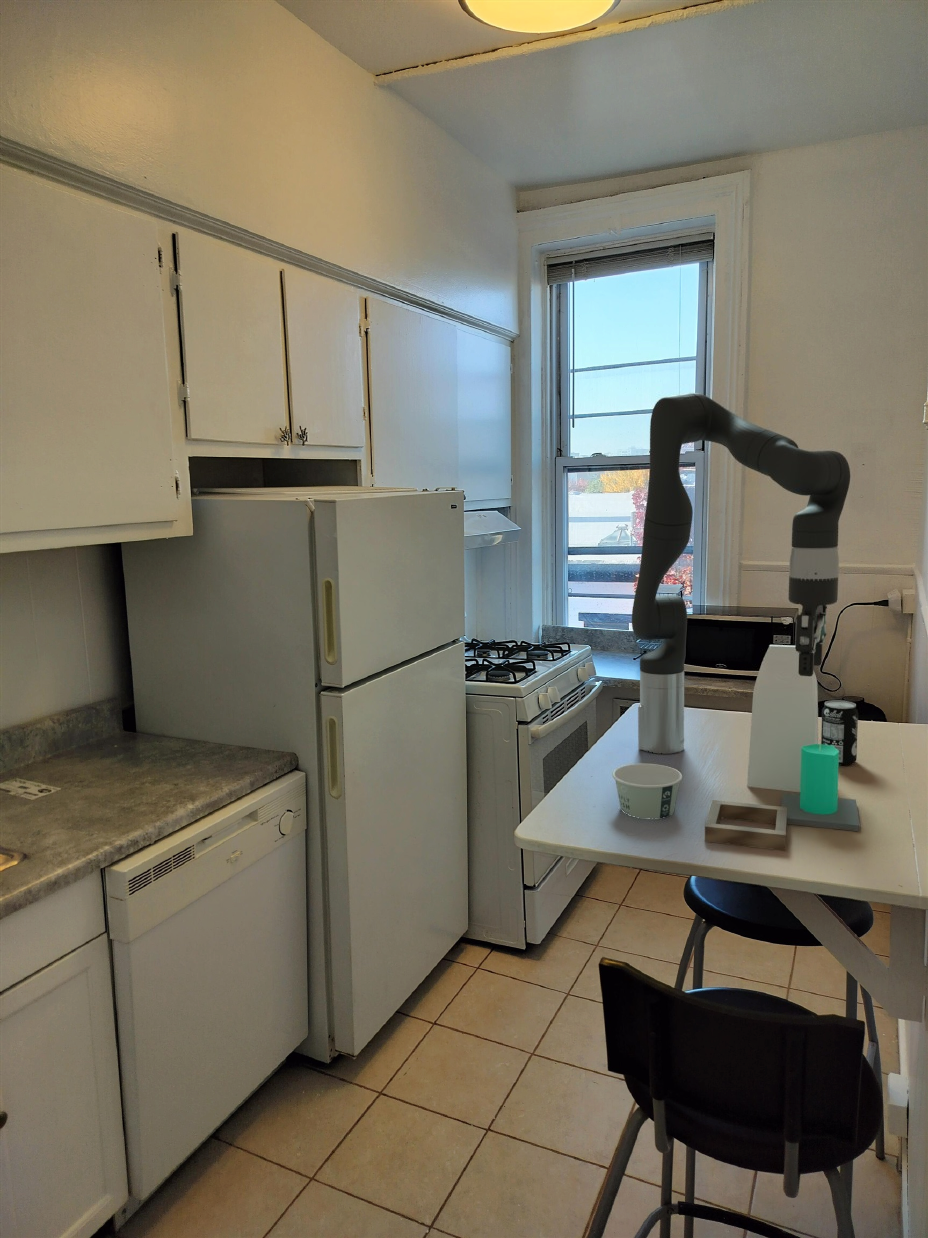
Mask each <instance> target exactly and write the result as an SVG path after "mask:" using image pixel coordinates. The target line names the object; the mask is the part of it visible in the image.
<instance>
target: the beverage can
mask: <svg viewBox="0 0 928 1238" xmlns="http://www.w3.org/2000/svg"><path fill="white" fill-rule="evenodd" d="M856 707H857V704H856V703H855V702H852V701H847V700H841V699H840V700H827V701H825V702H824V706H823V708H822V709H821V739H820V740H821V744H823V745H831V746H834V747H835V748H836V749H837V750H838V751H839V767H848V766H851V765H853V764H854V763H855V762H856V761H857V754H858V751H857V750H858V728H859V726H858V725H859V724H858V723H859V721H858V720H859V711H858V709H857V708H856Z"/></svg>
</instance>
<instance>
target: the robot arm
mask: <svg viewBox="0 0 928 1238" xmlns="http://www.w3.org/2000/svg"><path fill="white" fill-rule="evenodd" d="M699 441H704V442H705V441H706V442H710V443H711V442H712V443H715V444H719V445H722V446H723V447H725V448H726V449H727V450H728V451H729V453H730V454H731V456H732V457H733V458H734V459H735V460H736V462H738V463H740V464H741V465H743V466H744V467H747V468H749V469H750V470H753V471H755V472H758V473H760V474H763V475H764V476H767V477H770V479H771V480H772V481H773V482H775V483H776V484H777V485H779V486H780V487H781V488H783V489H784V490H786V491H788V492H790V493H791V494H795V495H800V496H805V497H806V496H809V497H808V498H809V499H808V501H807V505H806V507H805V508H804V509H803V510H800V511H798V512H797V513H795V514H794V515H793V518H792V523H791V549H790V556H789V562H788V563H789V565H788V566H789V567H788V569H789V572H788V574H789V575H788V601H789V602H790V603H792V604H794V605H801V607H802V609H801V612H800V614H797V616H796V633H795V634H796V635H795V637H796V638H795V645H794V646H795V649H796V651H798V653H799V671H798V673H799V675H801V676H812V675H813V673H814V672H815V666H817V667H819V666H821V665H822V664H823V644H824V643H825V640H826V639H825V638H826V636H827V618H828V617H827V609H828V606H830V605H835V604H836V603H837V602H838V600H839V599H838V596H839V595H838V593H839V568H840V566H839V565H840V558H839V547H838V546H839V521H840V517H841V515H842V513H843V510H844V509H843V508H844V505H845V502H846V499H847V496H848V492H849V489H850V483H851V468H850V464H849V462H848V460H847V458H846V457H845V456H844V455H843V454H842V453H840V452H838V451H837V450H836V451H835V450H806V449H802V448H799V445H798V444H797V442H796V441H794V440H793V439H792V438H790V437H787V436H785V435H782V434H780V433H777V432H776V431H775V432H774V431H772V430H770V429H767V428H765V427H762V426H759V425H757V424H754V423H752V422H750V421H748V420H745V419H744V418H742V417H741V416H739V415H738V414H735V413H734V412H733V411H730V410H729V409H727V408H725V407H724V406H723V405H721V404H720V403H718V402H716V401H715V400H714V399H713V398H711V397H709V396H707V395H705V394H703V393H699V392H690V393H688V392H687V393H681V394H673V395H668V396H667V395H666V396H664V397H661V398H660V399H659V400H657V401H656V402H655V404H654V407H653V409H652V412H651V416H650V425H649V474H648V475H649V476H648V486H647V499H646V506H645V513H644V521H643V522H644V523H643V531H642V545H641V556H640V557H641V558H640V565H639V572H638V578H637V584H636V587H635V594H634V597H633V598H634V599H633V605H632V611H631V626H632V632H633V634H634V636H635V637H636V638H637V639H638V640H643V641H644V640H645V641H650V640H651V641H652V640H654V641H655V640H663V643H661V645H659V646H658V647H657V648H656V649H654V650H652V651H649V652H648V653H645V654H644V655H642V656H641V657H640V659H639V695H640V696H639V705H638V707H637V713H638V714H637V720H638V721H637V722H638V723H637V731H638V732H637V735H638V736H637V737H638V742H637V743H638V745H637V747H638V748H637V750H640V751H645V752H648V751H649V752H648V753H652V752H653V754H659V755H660V754H661V753H662V754H665V755H666V754H676V753H680V752H682V751H684V749H685V662H686V661H685V660H686V654H687V653H686V652H687V650H686V649H687V647H686V646H687V630H688V628H687V627H688V611H687V610H688V609H687V605H686V603H685V600H684V599H683V598H682V596H680V595H677V594H676V595H675V594H671V595H670V594H669V595H668V594H667V595H657V593H658V591H659V588H660V585H661V583H662V581H663V579H664V577H665V576H666V574H667V573H668V571H670V569H672V567H673V565H674V564H675V563H676V562H677V560H678V559H679V558H680V557H681V556H682V554H683V553H684V551H685V550H686V548H687V546H688V544H689V542H690V537H691V530H692V524H693V506H692V501H691V500H690V496H689V494H688V492H687V490H686V488H685V486H684V484H683V482H682V478H681V474H680V460H681V459H680V457H681V450H682V446H683V445H685V444H686V445H687V444H691V443H696V442H699ZM804 642H807V643H808V644H805V643H804Z"/></svg>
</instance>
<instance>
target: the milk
mask: <svg viewBox="0 0 928 1238" xmlns="http://www.w3.org/2000/svg"><path fill="white" fill-rule="evenodd" d="M795 646H796V645H788V644H787V645H785V644H784V645H783V644H769V645H768V648H767V651H766V652H765V655H764V657H763V659H762V662H761V665H760V668H759V670H758V674H757V677H756V680H755V683H754V687H753V694H752V705H751V706H752V708H751V721H750V722H751V723H750V724H751V725H750V736H749V748H748V749H749V750H748V765H747V767H748V768H747V778H746V779H747V781H746V786H747V787H748V788H757V789H758V788H759V789H768V790H769V789H770V790H776V791H785V792H795V793H800V784H801V747H802V746H807V745H812V744H819V707H818V706H819V705H818V703H819V701H818V680H817V676H816V673H815V671H814V673H813V675H812V676H801V675H799V673H798V671H799V653H798V651H796V649H795Z"/></svg>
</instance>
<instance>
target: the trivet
mask: <svg viewBox="0 0 928 1238" xmlns="http://www.w3.org/2000/svg"><path fill="white" fill-rule="evenodd" d="M780 807H787V825H795V826H806V827H812V828H813V827H816V828H824V829H835V830H843V831H854V832H860V831H861V824H860V818H859V812H858V811H859V810H858V806H857V799H855V798H843V797H838V801H837V812H835V813H833V814H825V815H823V814H813V813H810V812H806V811H804V810H803V809H801V808H800V793H788V792H781V806H780Z"/></svg>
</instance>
